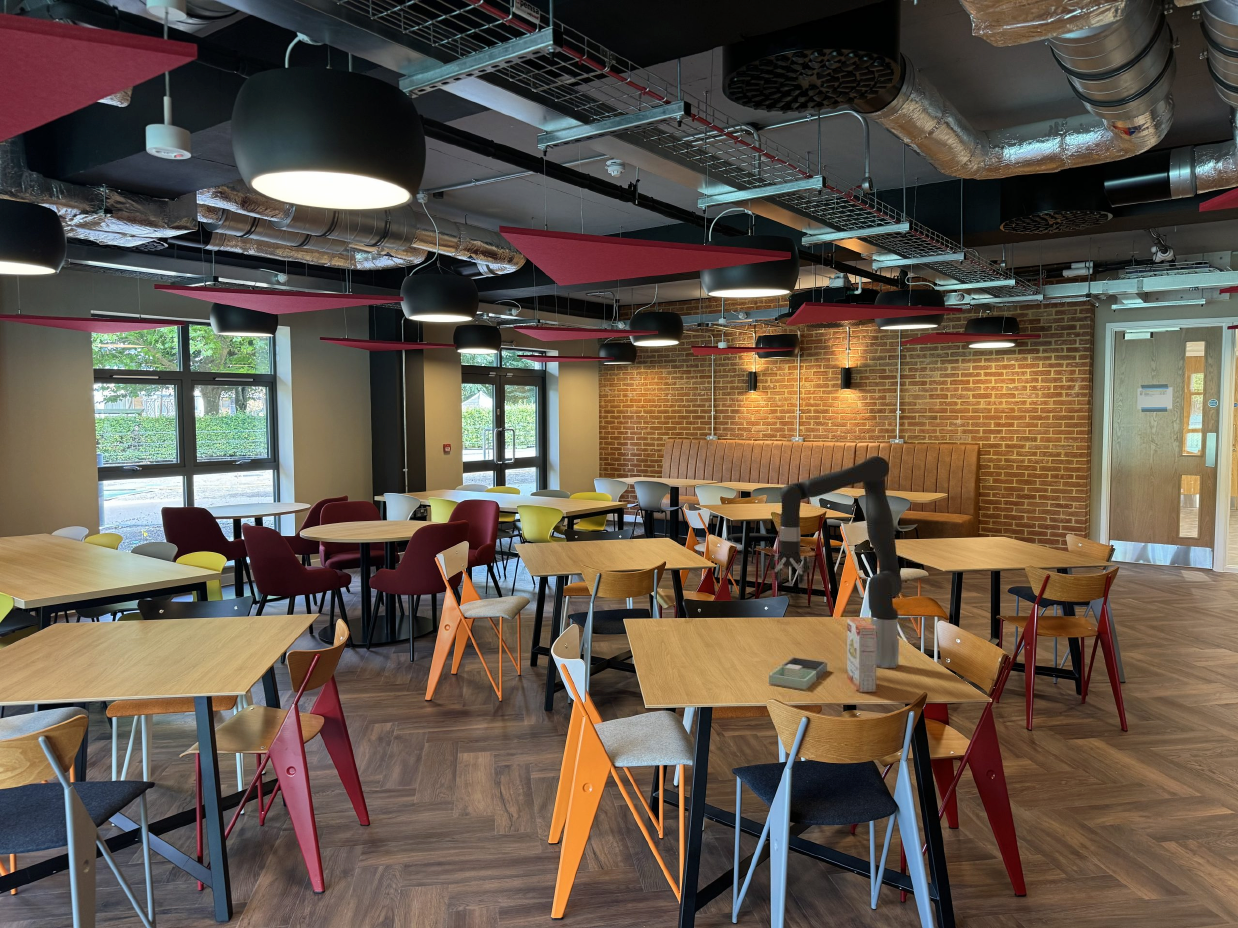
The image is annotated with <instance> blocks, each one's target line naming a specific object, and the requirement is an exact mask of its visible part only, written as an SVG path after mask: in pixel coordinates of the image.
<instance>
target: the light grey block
mask: <svg viewBox="0 0 1238 928" xmlns="http://www.w3.org/2000/svg"><path fill="white" fill-rule="evenodd" d="M785 677H790V678H796V679H802V666H799V665H792V664H788V665H787V666H786V667H785Z"/></svg>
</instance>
